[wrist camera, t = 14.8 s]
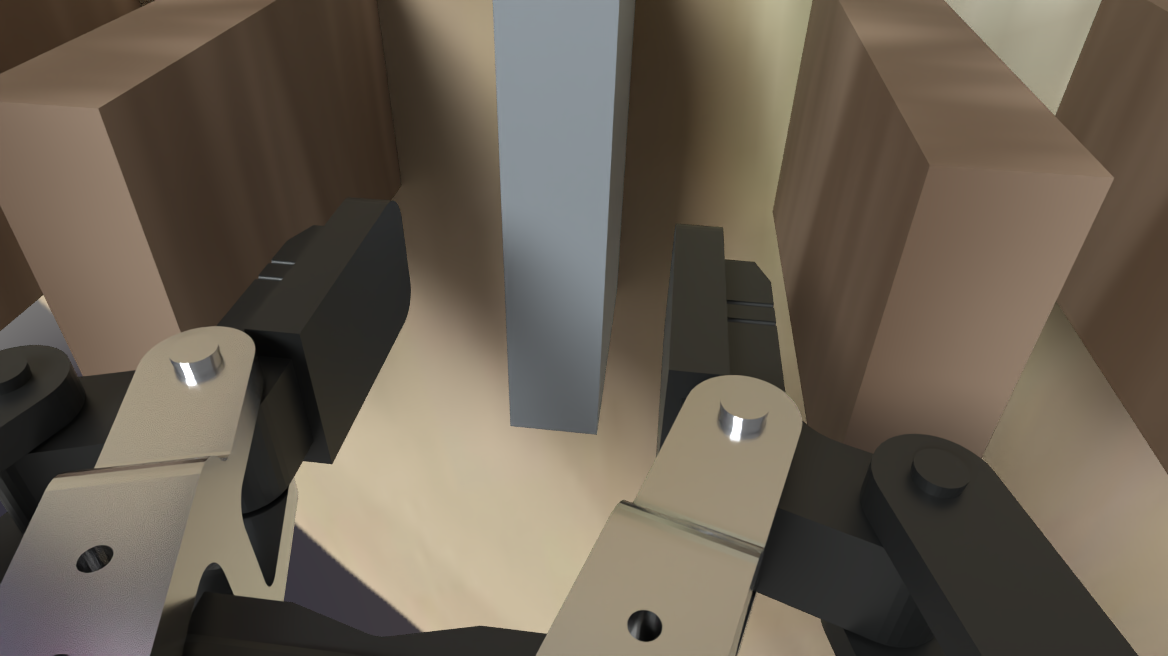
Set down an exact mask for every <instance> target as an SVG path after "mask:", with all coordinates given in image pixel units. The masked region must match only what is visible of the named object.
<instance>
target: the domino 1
mask: <svg viewBox="0 0 1168 656" xmlns="http://www.w3.org/2000/svg"><path fill="white" fill-rule="evenodd" d="M140 7H141V4H140V1H139V0H0V74H1V73H3V72H5V71H7V70H9V69H12V68H14V67H16V66H18V65H20V64H22V63H24V62H26V61H28V60H31V59H33V58H35V57H37V56H39V55H41V54H43V53H45V52H48V51H50V50H52V49H54V48H56V47H58V46H60V45H62V44H64V43H67V42H69V41H71V40H73V39H75V38H77V37H79V36H81V35H83V34H86V33H88V32H90V31H92V30H94V29H96V28H98V27H100V26H102V25H105V24H107V23H109V22H111V21H113V20H115V19H117V18H119V17H121V16H124V15H126V14H128V13H130V12H132V11H134V10H136V9H138V8H140ZM42 295H43V293H42V291H41V289H40V287H39V284H38V282H37V280H36V278H35V276H34V274H33V272H32V270H31V268H30V266H29V264H28V262H27V260H26V258H25V256H24V254H23V251H22V249H21V247H20V245H19V243H18V241H17V239H16V237H15V235H14V233H13V231H12V229H11V227H10V225H9V223H8V221H7V218H6V216H5V214H4V212H3V210H2V208H1V206H0V331H1V330H2V329H3V328H4V327H6V326H7V325H8V324H9V323H10V322H11V321H13V320H14V319H15V318H16V317H18V316H19V315H20V314H21V313H22V312H24V311H25V310H26V309H27V308H28V307H29V306H31V305H32V304H33V303H34V302H35V301H37V300H38V299H39V298H40V297H41V296H42Z"/></svg>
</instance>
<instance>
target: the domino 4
mask: <svg viewBox="0 0 1168 656" xmlns="http://www.w3.org/2000/svg"><path fill="white" fill-rule="evenodd" d="M1055 117H1056V118H1057V119H1058V120H1059V121H1060V122H1061V123H1062V124H1063V125H1064V126H1065V127H1066V128H1067V129H1068V130H1069V131H1070V132H1071V133H1072V134H1073V135H1074V136H1075V137H1076V138H1077V139H1078V140H1079V142H1080V143H1081V144H1082V145H1083V146H1084V147H1085V148H1086V149H1087V150H1088V151H1089V152H1090V153H1091V154H1092V155H1093V156H1094V157H1095V158H1096V159H1097V160H1098V161H1099V162H1100V163H1101V164H1102V165H1103V167H1104V168H1105V169H1106V170H1107V171H1108V172H1109V173H1110V174H1111V175H1112V176H1113V177H1114V180H1113V182H1112V184H1111V186H1110V188H1109V190H1108V192H1107V194H1106V197H1105V199H1104V201H1103V203H1102V205H1101V207H1100V209H1099V211H1098V213H1097V216H1096V218H1095V220H1094V222H1093V224H1092V226H1091V228H1090V230H1089V232H1088V234H1087V237H1086V239H1085V241H1084V243H1083V245H1082V247H1081V249H1080V251H1079V253H1078V256H1077V258H1076V260H1075V262H1074V264H1073V266H1072V268H1071V270H1070V272H1069V275H1068V277H1067V279H1066V281H1065V283H1064V285H1063V287H1062V289H1061V291H1060V294H1059V296H1058V298H1057V300H1056V302H1057V303H1058V305H1059V306H1060V308H1061V309H1062V311H1063V312H1064V314H1065V316H1066V317H1067V319H1068V320H1069V322H1070V323H1071V325H1072V326H1073V328H1074V330H1075V331H1076V333H1077V334H1078V336H1079V337H1080V339H1081V340H1082V342H1083V344H1084V345H1085V347H1086V348H1087V350H1088V351H1089V353H1090V354H1091V356H1092V358H1093V359H1094V361H1095V362H1096V364H1097V365H1098V367H1099V368H1100V370H1101V371H1102V373H1103V375H1104V376H1105V378H1106V379H1107V381H1108V382H1109V384H1110V385H1111V387H1112V389H1113V390H1114V392H1115V393H1116V395H1117V396H1118V398H1119V399H1120V401H1121V403H1122V404H1123V406H1124V407H1125V409H1126V410H1127V412H1128V413H1129V415H1130V417H1131V418H1132V420H1133V421H1134V423H1135V424H1136V426H1137V427H1138V429H1139V430H1140V432H1141V434H1142V435H1143V437H1144V438H1145V440H1146V441H1147V443H1148V444H1149V446H1150V448H1151V449H1152V451H1153V452H1154V454H1155V455H1156V457H1157V458H1158V460H1159V462H1160V463H1161V465H1162V466H1163V468H1164V469H1165V471H1166V472H1167V474H1168V0H1102V1H1101V4H1100V6H1099V9H1098V11H1097V14H1096V16H1095V19H1094V21H1093V24H1092V26H1091V29H1090V31H1089V34H1088V36H1087V39H1086V41H1085V44H1084V46H1083V49H1082V51H1081V54H1080V56H1079V58H1078V61H1077V63H1076V66H1075V68H1074V71H1073V73H1072V76H1071V78H1070V81H1069V83H1068V86H1067V88H1066V91H1065V93H1064V96H1063V98H1062V101H1061V103H1060V106H1059V108H1058V111H1057V113H1056V116H1055Z"/></svg>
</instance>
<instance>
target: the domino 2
mask: <svg viewBox="0 0 1168 656" xmlns="http://www.w3.org/2000/svg"><path fill="white" fill-rule="evenodd" d="M400 186H401V178H400V171H399V163H398V156H397V148H396V141H395V133H394V126H393V118H392V111H391V103H390V96H389V88H388V81H387V73H386V66H385V58H384V51H383V43H382V36H381V28H380V21H379V13H378V6H377V0H155V1H153V2H151V3H149V4H147V5H145V6H143V7H140V8H138V9H136V10H134V11H132V12H130V13H128V14H126V15H124V16H121V17H119V18H117V19H115V20H113V21H111V22H109V23H107V24H105V25H102V26H100V27H98V28H96V29H94V30H92V31H90V32H88V33H86V34H83V35H81V36H79V37H77V38H75V39H73V40H71V41H69V42H67V43H64V44H62V45H60V46H58V47H56V48H54V49H52V50H50V51H48V52H45V53H43V54H41V55H39V56H37V57H35V58H33V59H31V60H28V61H26V62H24V63H22V64H20V65H18V66H16V67H14V68H12V69H9V70H7V71H5V72H3V73H1V74H0V206H1V208H2V210H3V212H4V214H5V216H6V218H7V221H8V223H9V225H10V227H11V229H12V231H13V233H14V235H15V237H16V239H17V241H18V243H19V245H20V247H21V249H22V251H23V254H24V256H25V258H26V260H27V262H28V264H29V266H30V268H31V270H32V272H33V274H34V276H35V278H36V280H37V282H38V284H39V287H40V289H41V291H42V293H43V295H44V297H45V299H46V301H47V303H48V305H49V307H50V309H51V311H52V313H53V315H54V317H55V319H56V322H57V324H58V325H59V328H60V330H61V331H62V334H63V336H64V338H65V340H66V342H67V344H68V346H69V348H70V350H71V352H72V355H73V357H74V359H75V361H76V363H77V365H78V367H79V369H80V371H81V373H82V375H83V376H91V375H99V374H108V373H116V372H124V371H133V370H136V369H137V366H138V364H139V362H140V361H141V359H142V358H143V356H144V355H145V354H146V353H147V352H148V351H149V350H150V349H151V348H153V347H154V346H155V345H157V344H158V343H160V342H161V341H163V340H165V339H167V338H169V337H171V336H173V335H176V334H178V333H181V332H184V331H187V330H191V329H195V328H201V327H210V326H217V324H218V323H219V322H220V321H221V319H222V318H223V317H224V316H225V315H226V313H227V312H228V311H229V310H230V309H231V307H232V306H233V305H234V304H235V303H236V301H237V300H238V299H239V298H240V297H241V295H242V294H243V293H244V292H245V291H246V289H247V288H248V287H249V286H250V285H251V283H252V282H253V281H254V280H255V279H258V278H259V276H258V275H259V274H260V273H261V271H262V270H263V269H264V268H265V267H266V265H267V264H268V263H270V264H271V259H272V258H273V257H274V256H275V254H276V253H277V252H278V251H279V250H280V248H281V247H282V246H283V245H284V244H285V242H286V241H287V240H289V239H291V238H292V237H294V236H296V235H297V234H299V233H301V232H302V231H304V230H306V229H308V228H309V227H311V226H313V225H320V226H324V225H325V224H326V222H327V221H328V220H329V219H330V217H331V216H332V215H333V214H334V212H335V211H336V210H337V208H338V207H339V206H340V205H341V203H342V202H343V201H344V200H345V199H346V198H348V197H353V198H366V199H379V200H392V198H393V197H394V195H395V194H396V192H397V191H398V189H399V188H400Z"/></svg>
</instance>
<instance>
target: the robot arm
mask: <svg viewBox="0 0 1168 656" xmlns="http://www.w3.org/2000/svg"><path fill="white" fill-rule="evenodd" d="M258 276H259V278H258V279H255V280H254V281H253V282H252V283H251V285H250V286H249V287H248V288H247V289H246V291H245V292H244V293H243V294H242V295H241V297H240V298H239V299H238V300H237V301H236V303H235V304H234V305H233V306H232V307H231V309H230V310H229V311H228V312H227V313H226V315H225V316H224V317H223V318H222V319H221V321H220V322H219V323H218V324H217V326H210V327H201V328H195V329H191V330H187V331H184V332H181V333H178V334H176V335H173V336H171V337H169V338H167V339H165V340H163V341H161V342H160V343H158V344H157V345H155V346H154V347H153V348H151V349H150V350H149V351H148V352H147V353H146V354H145V355H144V356H143V358H142V359H141V361H140V362H139V364H138V366H137V369H136V370H133V371H124V372H116V373H108V374H99V375H91V376H83V377H78V376H77V374H76V372H75V370H74V368H73V366H72V364H71V362H70V360H69V358H68V356H67V355H66V354H65V353H64V352H63V351H61V350H59V349H57V348H54V347H50V346H43V345H27V346H19V347H13V348H9V349H5V350H1V351H0V501H1V502H2V504H3V505H4V507H5V508H6V510H7V511H8V512H6V513H5V514H4V515H3V516H1V517H0V656H738V653H739V650H740V647H741V643H742V640H743V637H744V634H745V630H746V627H747V624H748V621H749V617H750V614H751V611H752V608H753V604H754V601H755V598H756V595H757V592H758V593H761V594H763V595H765V596H768V597H770V598H772V599H775V600H777V601H780V602H782V603H784V604H787V605H789V606H791V607H794V608H796V609H799V610H801V611H803V612H806V613H808V614H811V615H813V616H815V617H818V618H820V619H821V623H822V626H823V628H824V631H825V633H826V635H827V638H828V640H829V642H830V644H831V646H832V649H833V651H834V653H835V655H836V656H1138V655H1137V653H1136V652H1135V651H1134V649H1133V648H1132V647H1131V646H1130V644H1129V643H1128V642H1127V640H1126V639H1125V638H1124V637H1123V635H1122V634H1121V633H1120V632H1119V630H1118V629H1117V628H1116V626H1115V625H1114V624H1113V623H1112V621H1111V620H1110V619H1109V618H1108V616H1107V615H1106V614H1105V612H1104V611H1103V610H1102V609H1101V607H1100V606H1099V605H1098V603H1097V602H1096V601H1095V600H1094V598H1093V597H1092V596H1091V595H1090V593H1089V592H1088V591H1087V589H1086V588H1085V587H1084V586H1083V584H1082V583H1081V582H1080V580H1079V579H1078V578H1077V577H1076V575H1075V574H1074V573H1073V572H1072V570H1071V569H1070V568H1069V566H1068V565H1067V564H1066V563H1065V561H1064V560H1063V559H1062V557H1061V556H1060V555H1059V554H1058V552H1057V551H1056V550H1055V549H1054V547H1053V546H1052V545H1051V543H1050V542H1049V541H1048V540H1047V538H1046V537H1045V536H1044V535H1043V533H1042V532H1041V531H1040V529H1039V528H1038V527H1037V526H1036V524H1035V523H1034V522H1033V520H1032V519H1031V518H1030V517H1029V515H1028V514H1027V513H1026V512H1025V510H1024V509H1023V508H1022V506H1021V505H1020V504H1019V503H1018V501H1017V500H1016V499H1015V497H1014V496H1013V495H1012V494H1011V492H1010V491H1009V490H1008V489H1007V487H1006V486H1005V485H1004V483H1003V482H1002V481H1001V480H1000V478H999V477H998V476H997V475H996V473H995V472H994V471H993V470H992V469H991V467H990V466H989V465H988V464H987V463H986V462H984V461H983V460H982V459H981V458H980V457H979V456H977V455H976V454H974V453H973V452H971V451H970V450H968V449H966V448H964V447H963V446H961V445H959V444H957V443H954V442H952V441H949V440H947V439H943V438H940V437H936V436H931V435H926V434H904V435H898V436H895V437H892V438H889V439H887V440H886V441H884V442H882V443H881V444H880V445H879V446H878V447H877V448H876V450H875V452H874V454H873V453H870V452H867V451H864V450H861V449H858V448H855V447H852V446H849V445H846V444H843V443H840V442H838V441H835V440H833V439H830V438H828V437H826V436H824V435H822V434H820V433H818V432H817V431H815V430H814V429H812V428H811V427H809V426H808V425H807V424H806V423H804V422H803V421H802V416H801V413H800V410H799V408H798V407H797V405H796V403H795V402H794V401H793V400H792V399H791V398H790V396H788V395H787V394H786V393H785V387H784V379H783V372H782V364H781V356H780V349H779V341H778V333H777V326H776V318H775V310H774V308H773V305H774V302H773V295H772V287H771V282H770V280H769V279H768V278H767V277H766V276H765V274H764V273H763V272H762V271H761V269H760V268H759V267H758V266H757V264H756V263H755V262H749V261H737V260H725V257H724V236H723V227H712V226H700V225H687V224H676V226H675V233H674V242H673V252H672V261H671V270H670V279H669V289H668V298H667V307H666V318H665V329H664V341H663V356H662V372H661V388H660V405H659V421H658V437H657V453H656V459H655V461H654V463H653V465H652V467H651V469H650V471H649V473H648V475H647V477H646V479H645V481H644V483H643V485H642V487H641V489H640V491H639V493H638V495H637V496H636V498H635V500H634V501H633V503H632V502H629V501H626V500H622V501H620V502H619V503H618V504H617V506H616V507H615V508H614V510H613V511H612V513H611V515H610V517H609V518H608V520H607V522H606V524H605V526H604V528H603V530H602V531H601V533H600V535H599V537H598V539H597V541H596V543H595V545H594V547H593V548H592V550H591V552H590V554H589V556H588V558H587V560H586V562H585V564H584V565H583V567H582V569H581V571H580V573H579V575H578V577H577V579H576V581H575V582H574V584H573V586H572V588H571V590H570V592H569V594H568V596H567V597H566V599H565V601H564V603H563V605H562V607H561V609H560V611H559V613H558V614H557V616H556V618H555V620H554V622H553V624H552V626H551V628H550V630H549V631H548V633H547V634H544V633H536V632H527V631H519V630H511V629H503V628H495V627H487V626H475V627H466V628H458V629H449V630H440V631H432V632H423V633H414V634H406V635H397V636H388V637H379V636H373V635H370V634H367V633H364V632H362V631H360V630H357V629H355V628H353V627H350V626H348V625H346V624H343V623H341V622H338V621H336V620H333V619H331V618H329V617H326V616H324V615H321V614H319V613H316V612H314V611H312V610H310V609H307V608H305V607H302V606H300V605H297V604H295V603H293V602H285V601H284V594H285V587H286V579H287V573H288V565H289V558H290V551H291V544H292V537H293V530H294V523H295V516H296V509H297V502H298V489H297V485H296V482H295V479H294V476H295V474H296V472H297V471H298V469H299V467H300V465H301V463H302V462H303V461H308V462H317V463H326V464H332V463H333V462H334V460H335V458H336V456H337V454H338V452H339V450H340V448H341V446H342V444H343V442H344V440H345V438H346V436H347V434H348V432H349V430H350V428H351V426H352V424H353V422H354V420H355V418H356V417H357V415H358V413H359V411H360V409H361V407H362V405H363V403H364V401H365V399H366V397H367V395H368V393H369V391H370V389H371V387H372V385H373V383H374V381H375V379H376V377H377V375H378V373H379V371H380V370H381V368H382V366H383V364H384V362H385V360H386V358H387V356H388V354H389V352H390V350H391V348H392V346H393V344H394V342H395V340H396V338H397V336H398V334H399V332H400V330H401V328H402V326H403V325H404V323H405V320H406V318H407V315H408V311H409V306H410V296H411V285H410V277H409V269H408V262H407V254H406V247H405V239H404V232H403V225H402V217H401V212H400V209H399V206H398V204H397V203H396V202H395V201H391V200H379V199H366V198H353V197H348V198H346V199H345V200H344V201H343V202H342V203H341V205H340V206H339V207H338V208H337V210H336V211H335V212H334V214H333V215H332V216H331V217H330V219H329V220H328V221H327V222H326V224H325V225H324V226H320V225H313V226H311V227H309V228H308V229H306V230H304V231H302V232H301V233H299V234H297V235H296V236H294V237H292V238H291V239H289V240H287V241H286V242H285V244H284V245H283V246H282V247H281V248H280V250H279V251H278V252H277V253H276V254H275V256H274V257H273V258H272V259H271V264H270V263H268V264H267V265H266V267H265V268H264V269H263V270H262V271H261V273H260V274H259V275H258Z"/></svg>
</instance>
